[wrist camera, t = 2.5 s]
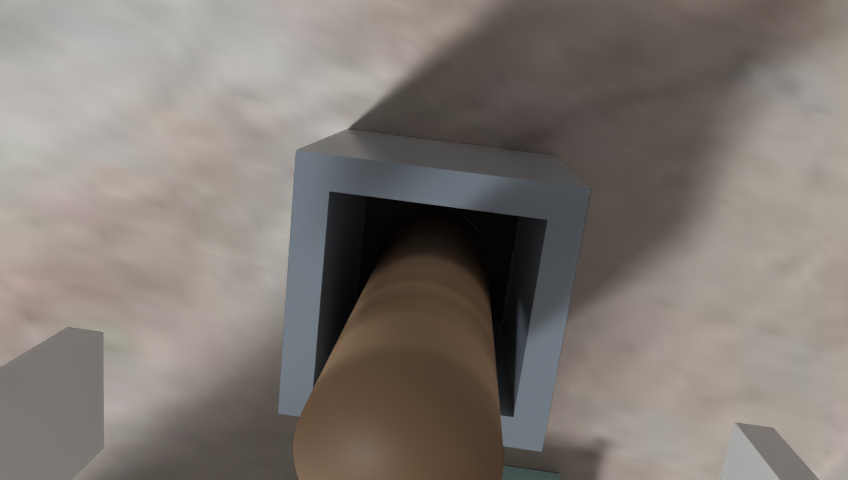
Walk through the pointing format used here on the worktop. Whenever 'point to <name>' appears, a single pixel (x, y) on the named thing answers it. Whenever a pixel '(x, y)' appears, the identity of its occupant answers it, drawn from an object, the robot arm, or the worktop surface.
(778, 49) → the worktop surface
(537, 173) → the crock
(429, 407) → the dowel
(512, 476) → the tray
